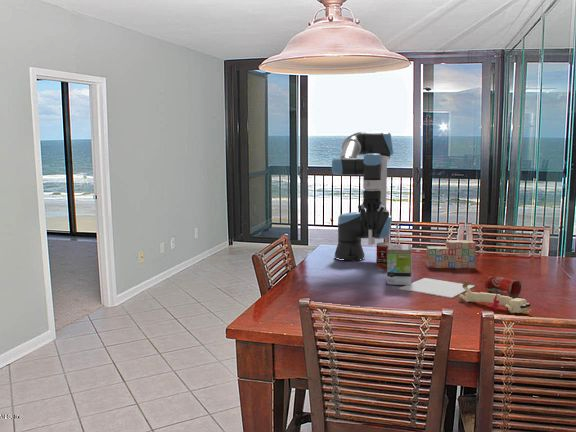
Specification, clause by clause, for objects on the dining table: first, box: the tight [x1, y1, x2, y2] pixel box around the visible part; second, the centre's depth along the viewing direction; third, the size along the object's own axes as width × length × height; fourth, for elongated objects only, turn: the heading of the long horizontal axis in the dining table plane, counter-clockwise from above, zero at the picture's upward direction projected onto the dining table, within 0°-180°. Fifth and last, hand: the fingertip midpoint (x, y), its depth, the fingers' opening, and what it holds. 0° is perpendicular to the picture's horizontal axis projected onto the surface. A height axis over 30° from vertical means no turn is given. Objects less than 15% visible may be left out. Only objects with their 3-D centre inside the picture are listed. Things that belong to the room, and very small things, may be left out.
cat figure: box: [458, 280, 532, 314], centre depth 194 cm, size 10×9×25 cm
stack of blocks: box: [425, 239, 477, 269], centre depth 260 cm, size 21×6×12 cm, turn 87°
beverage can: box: [484, 275, 522, 299], centre depth 211 cm, size 7×12×7 cm, turn 36°
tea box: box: [386, 243, 412, 286], centre depth 232 cm, size 15×10×15 cm, turn 168°
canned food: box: [375, 241, 394, 269], centre depth 262 cm, size 8×8×11 cm
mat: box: [398, 277, 476, 299], centre depth 222 cm, size 22×22×1 cm
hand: (371, 244), depth 240 cm, fingers closed
